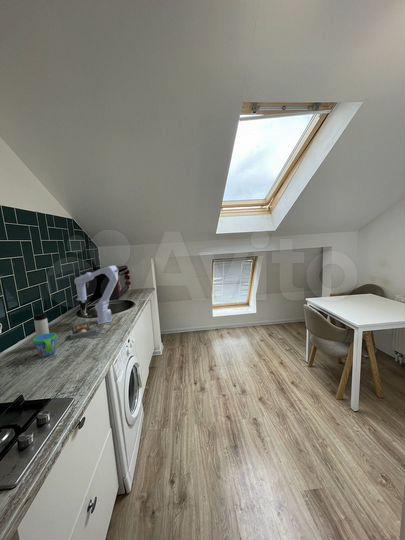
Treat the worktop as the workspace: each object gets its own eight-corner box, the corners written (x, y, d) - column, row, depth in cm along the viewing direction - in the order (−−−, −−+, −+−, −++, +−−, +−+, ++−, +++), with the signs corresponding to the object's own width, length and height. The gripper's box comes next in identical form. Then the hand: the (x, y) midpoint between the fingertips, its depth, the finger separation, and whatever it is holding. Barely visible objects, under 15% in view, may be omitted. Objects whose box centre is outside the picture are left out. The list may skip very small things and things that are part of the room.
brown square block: (86, 328, 159) (86, 324, 159) (87, 331, 154) (87, 326, 154) (77, 330, 156) (76, 326, 156) (77, 333, 151) (77, 328, 151)
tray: (94, 329, 157) (94, 325, 156) (96, 334, 149) (95, 330, 149) (70, 335, 149) (70, 330, 149) (71, 340, 141) (70, 335, 141)
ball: (87, 336, 149) (86, 330, 151) (87, 332, 146) (86, 327, 149) (80, 337, 147) (79, 332, 149) (80, 334, 144) (79, 328, 147)
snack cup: (34, 352, 127) (32, 335, 126) (56, 346, 134) (54, 329, 132) (36, 363, 115) (33, 344, 114) (60, 356, 122) (58, 338, 120)
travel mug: (44, 348, 132) (40, 315, 129) (35, 347, 133) (30, 314, 130) (53, 343, 138) (49, 311, 135) (44, 342, 139) (40, 311, 136)
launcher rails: (88, 324, 168) (88, 322, 168) (90, 329, 157) (90, 328, 157) (73, 327, 163) (73, 325, 163) (74, 333, 152) (74, 331, 152)
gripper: (74, 291, 174) (76, 308, 176) (76, 295, 162) (78, 313, 164) (85, 290, 178) (86, 306, 180) (87, 293, 166) (89, 311, 168)
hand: (83, 309), depth 172 cm, fingers closed
